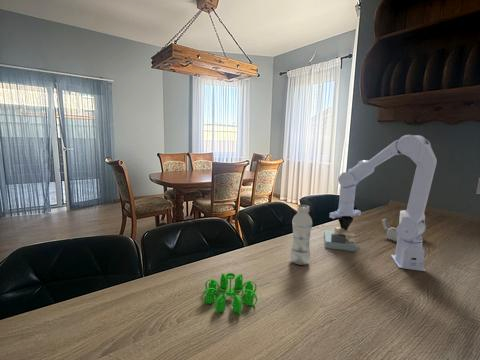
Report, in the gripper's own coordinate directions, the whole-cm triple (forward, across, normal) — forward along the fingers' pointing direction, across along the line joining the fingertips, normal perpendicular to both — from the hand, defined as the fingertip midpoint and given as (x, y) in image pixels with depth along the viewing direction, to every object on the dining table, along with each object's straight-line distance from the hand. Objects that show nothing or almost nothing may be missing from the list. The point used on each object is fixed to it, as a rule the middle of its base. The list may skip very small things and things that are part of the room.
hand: (343, 233), depth 108 cm
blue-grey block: (+3, +3, +1) cm, 5 cm away
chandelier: (+4, +57, +21) cm, 61 cm away
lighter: (+4, -22, +4) cm, 22 cm away
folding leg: (+1, +2, +3) cm, 4 cm away
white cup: (+4, -35, +2) cm, 35 cm away
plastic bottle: (+4, +28, +10) cm, 30 cm away
